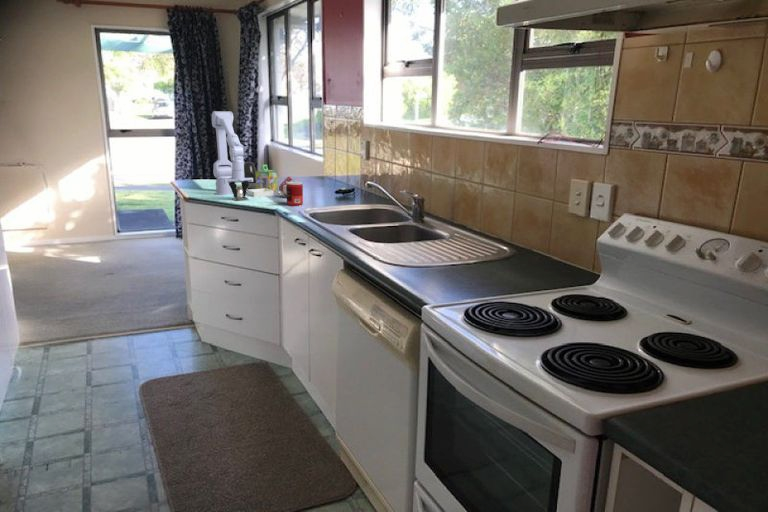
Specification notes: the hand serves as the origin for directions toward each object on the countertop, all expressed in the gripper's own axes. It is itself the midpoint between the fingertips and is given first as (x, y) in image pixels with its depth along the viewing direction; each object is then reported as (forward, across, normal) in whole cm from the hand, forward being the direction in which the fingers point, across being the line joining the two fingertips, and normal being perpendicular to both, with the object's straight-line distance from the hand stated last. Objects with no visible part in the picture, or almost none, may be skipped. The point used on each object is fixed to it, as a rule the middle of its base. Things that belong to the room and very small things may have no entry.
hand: (239, 196), depth 293 cm
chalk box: (+2, +25, +25) cm, 35 cm away
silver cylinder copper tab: (+1, 0, 0) cm, 1 cm away
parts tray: (+2, +15, +10) cm, 18 cm away
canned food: (+2, +19, -25) cm, 31 cm away
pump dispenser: (+2, +21, +41) cm, 46 cm away
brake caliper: (+2, +26, -2) cm, 26 cm away
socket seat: (+2, 0, 0) cm, 2 cm away
